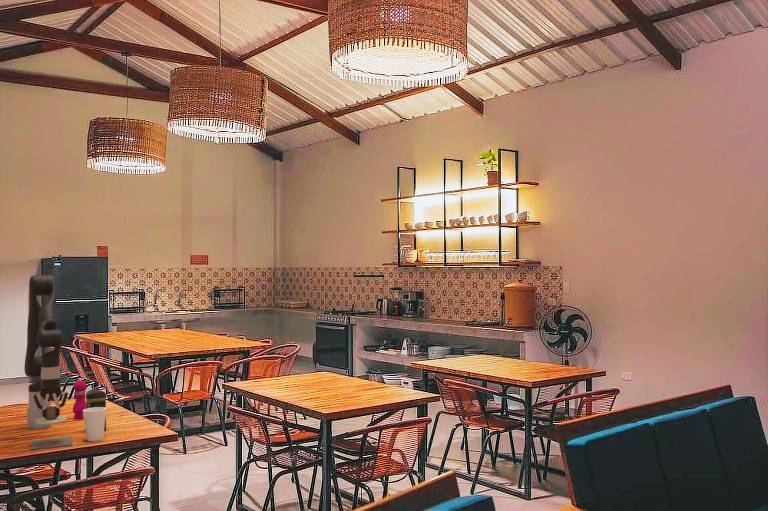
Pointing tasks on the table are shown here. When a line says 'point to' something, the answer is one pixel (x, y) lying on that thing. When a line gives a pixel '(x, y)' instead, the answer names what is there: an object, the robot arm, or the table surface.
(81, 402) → the pepper mill
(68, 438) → the mat
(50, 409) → the lid
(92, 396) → the coffee jar
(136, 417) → the table surface
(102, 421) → the foam cup
